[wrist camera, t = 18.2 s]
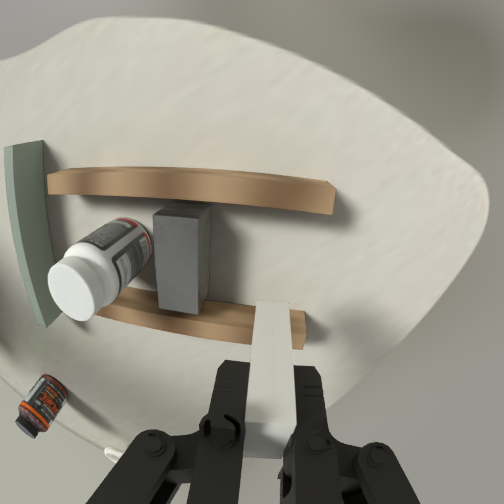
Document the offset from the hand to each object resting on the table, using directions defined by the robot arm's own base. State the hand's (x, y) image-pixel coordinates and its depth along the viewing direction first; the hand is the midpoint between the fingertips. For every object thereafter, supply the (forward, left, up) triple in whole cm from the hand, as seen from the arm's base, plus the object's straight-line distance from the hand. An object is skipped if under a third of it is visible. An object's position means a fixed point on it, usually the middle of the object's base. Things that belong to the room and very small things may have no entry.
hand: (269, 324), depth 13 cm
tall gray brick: (-6, 0, -8) cm, 10 cm away
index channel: (-7, 0, -8) cm, 11 cm away
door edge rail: (-22, 0, -8) cm, 24 cm away
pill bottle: (-12, 0, -8) cm, 15 cm away
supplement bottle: (-32, -28, -8) cm, 44 cm away
